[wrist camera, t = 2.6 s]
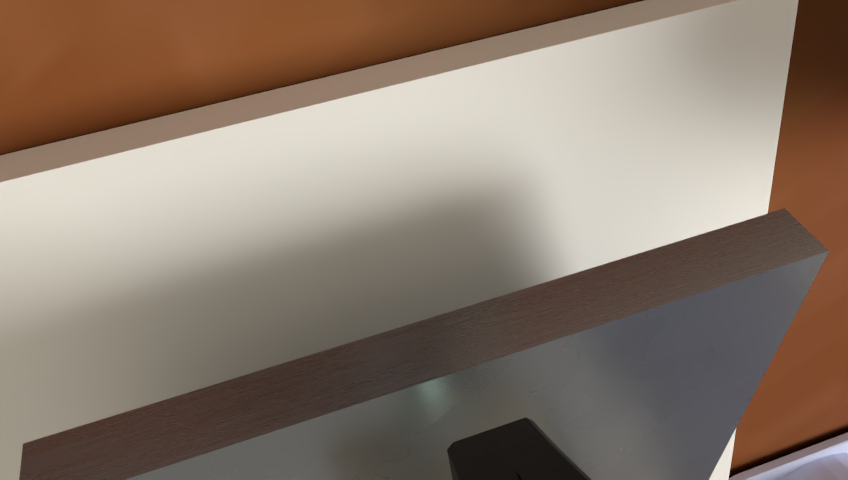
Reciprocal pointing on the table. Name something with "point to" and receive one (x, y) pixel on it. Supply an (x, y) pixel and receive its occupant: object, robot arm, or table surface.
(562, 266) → the base board
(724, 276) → the plate
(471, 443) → the robot arm
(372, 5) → the table surface
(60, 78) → the table surface
